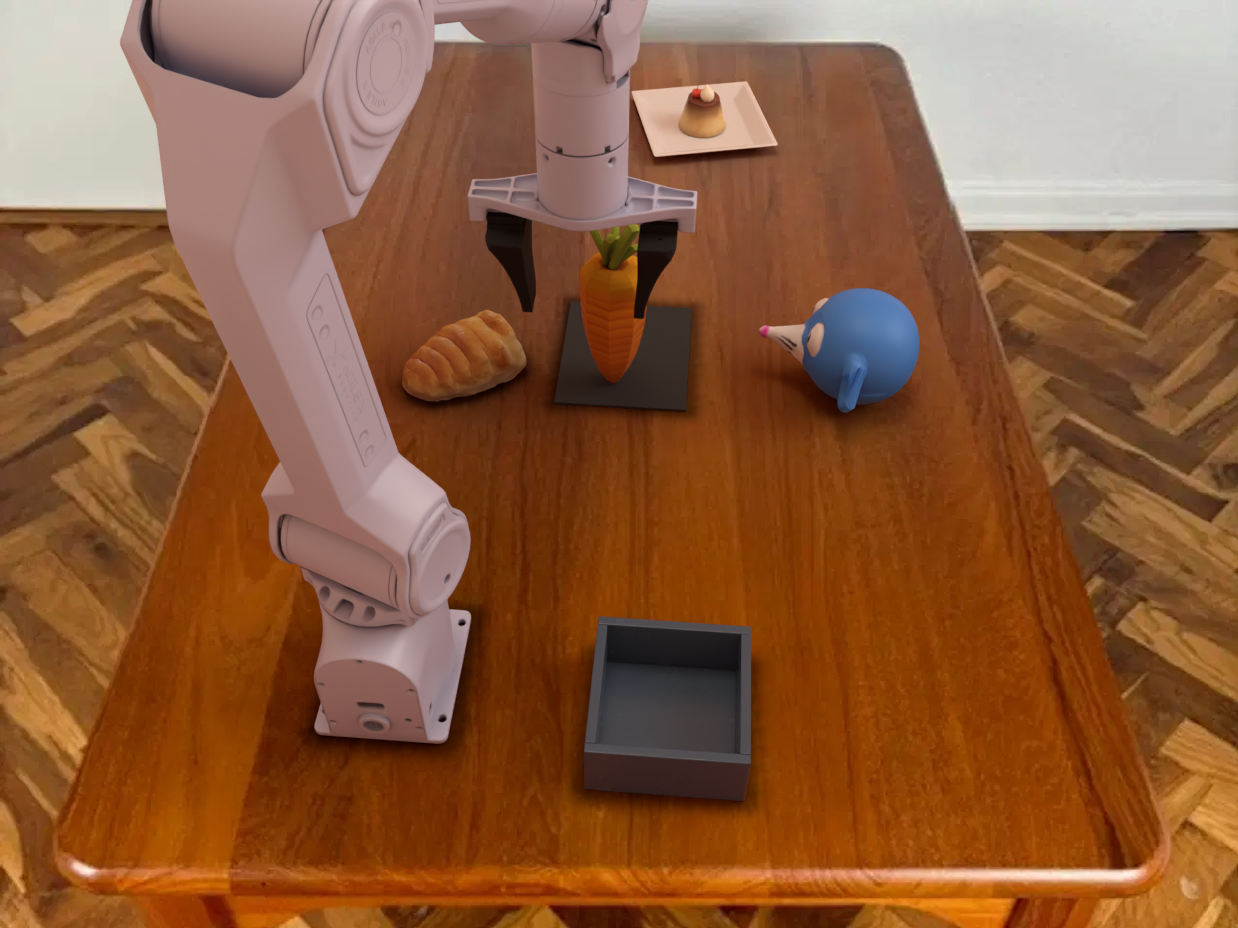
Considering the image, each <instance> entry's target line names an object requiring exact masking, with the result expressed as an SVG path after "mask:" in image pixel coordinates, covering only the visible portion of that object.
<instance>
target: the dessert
mask: <svg viewBox="0 0 1238 928" xmlns="http://www.w3.org/2000/svg"><path fill="white" fill-rule="evenodd" d="M631 95H632V98H633V101H634V103H635V106H636V109H637V112H638V114H639V118H640V120H641V123H642V126H643V129H644V132H645V135H646V137H647V140H648V143H649V146H650V149H651V152H652V155H653V157H655V158H661V157H664V158H665V157H676V156H677V157H678V156H687V155H697V154H708V153H709V154H710V153H720V152H729V151H730V152H731V151H740V150H741V151H742V150H750V149H751V150H752V149H761V148H771V147H776V146H778V144H779V143H778V141H777V139H776V137H775V135H774V134H773V131H772V129H771V128H770V126H769V123H768V121H767V119H766V118H765V115H764V113H763V111H762V109H761V107H760V105H759V103H758V100H757V99H756V97H755V95H754V92H753V90H752V89H751V86H750V84H749V83H748V81H747V80H745V81H744V80H743V81H734V82H723V83H722V82H721V83H713V84H712V83H710V84H708V83H706V84H700V83H699V84H697V85H686V86H674V87H663V88H651V89H650V88H649V89H639V90H631Z"/></svg>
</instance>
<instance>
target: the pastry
mask: <svg viewBox="0 0 1238 928" xmlns="http://www.w3.org/2000/svg"><path fill="white" fill-rule="evenodd" d="M526 366H527V356H526V353H525V351H524V349H523V346H522V344H521V343H520V341H519V340H518V338H517V336H516V333H515V331H514V329H513V327H512V326H511V325H510V324H509V322H508V321H507V320H506V319H505V318H504V317H503V315H501V314H500V313H497V312H494V311H492V310H489V309H483V311H479V312H477V314H475V315H473V316H470V317H466V318H462V319H459V320H457V321H455V322H454V323H449V324H446V325H444V326H443V327H441V328H440V329H439V330H438V331H437V332H436V333H435V334H434V335H432V336H431V337H430V338H429V339H428V340H427V341H426V342H425V343H424V344H423V345H421V346H420V347H419V348H418V349H417V350H416V351H415V352H414V353H413V354H411V356H410V358H409V359H408V360H407V361H406V362H405V363H404V364H403V367H402V379H401V385H402V388H403V389H404V390H405V392H406V393H408V394H409V395H410V396H413V397H415V398H418V399H420V400H423V401H427V402H436V403H438V402H440V401H450V400H451V399H453V398H461V397H462V398H467V397H470V396H474V395H476V394H477V393H483V392H485V391H488V390H489V389H492V388H495V387H496V386H497V385H499V384H502V383H507V382H509V381H512V380H513V379H514V378H516V377H517V375H518V374H520V373H521V372H522V370H523V369H524V368H525V367H526Z"/></svg>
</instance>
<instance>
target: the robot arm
mask: <svg viewBox="0 0 1238 928" xmlns="http://www.w3.org/2000/svg"><path fill="white" fill-rule="evenodd" d="M648 3H649V0H131V2H130V6H129V10H128V13H127V16H126V19H125V23H124V26H123V30H122V33H121V36H120V39H119V46H120V49H121V51H122V53H123V55H124V57H125V59H126V62H127V64H128V67H129V68H130V70H131V73H132V75H133V77H134V80H135V82H136V84H137V86H138V88H139V90H140V92H141V94H142V97H143V99H144V101H145V103H146V106H147V108H148V110H149V112H150V115H151V116H152V117H151V118H152V119H153V121H154V123H155V126H156V136H157V143H158V145H157V146H158V152H159V161H160V168H161V176H162V183H163V194H164V200H165V201H164V202H165V209H166V217H167V218H166V219H167V223H168V228H169V231H170V235H171V237H172V240H173V243H174V246H175V247H176V248H175V249H176V250H177V252H178V254H179V256H180V259H181V260H182V262H183V264H184V266H185V268H186V270H187V273H188V275H189V276H190V279H191V281H192V284H193V285H194V287H195V289H196V291H197V293H198V294H199V297H200V300H201V301H202V303H203V306H204V307H205V310H206V311H207V314H208V316H209V318H210V320H211V322H212V324H213V326H214V328H215V330H216V332H217V334H218V336H219V338H220V341H221V343H222V345H223V347H224V349H225V351H226V353H227V356H228V357H229V359H230V361H231V363H232V365H233V368H234V370H235V371H236V373H237V375H238V378H239V380H240V382H241V384H242V386H243V388H244V390H245V392H246V394H247V397H248V399H249V401H250V402H251V404H252V407H253V409H254V411H255V413H256V415H257V417H258V419H259V421H260V424H261V425H262V427H263V429H264V432H265V433H266V436H267V437H268V439H269V441H270V444H271V446H272V448H273V450H274V452H275V453H276V456H277V458H278V460H279V463H277V465H276V466H275V468H274V469H273V471H272V473H271V474H270V476H269V477H268V480H267V482H266V484H265V486H264V488H263V489H262V492H261V494H260V497H261V499H262V501H263V503H264V504H265V507H266V510H267V514H268V541H269V546H270V549H271V551H272V553H273V555H274V556H275V557H276V558H277V559H278V560H280V561H282V562H284V563H286V564H288V565H297V566H299V568H300V571H301V575H302V579H303V581H306V582H307V583H308V584H310V585H311V586H312V587H313V588H314V591H315V594H316V596H317V600H318V604H319V609H320V613H321V619H322V620H321V622H322V635H321V643H320V648H319V653H318V657H317V660H316V664H315V667H314V671H313V682H314V683H313V684H314V686H315V689H316V692H317V695H318V698H319V701H320V705H319V706H318V707H319V708H318V711H317V715H316V717H315V721H314V725H313V726H314V727H313V728H314V731H315V733H316V734H317V735H319V736H329V737H330V736H331V737H340V738H342V737H343V738H356V739H366V740H367V739H368V740H369V739H371V740H383V741H395V742H396V741H397V742H407V743H408V742H409V743H410V742H411V743H422V744H423V743H424V744H434V745H435V744H436V745H437V744H438V745H439V744H443V743H445V742H446V741H447V740H448V738H449V734H450V729H451V724H452V719H453V715H454V714H453V713H454V709H455V704H456V698H457V694H458V689H459V684H460V678H461V673H462V669H463V664H464V658H465V653H466V648H467V643H468V639H469V638H468V637H469V632H470V630H471V629H470V628H471V624H472V615H471V612H470V611H468V610H465V609H453V608H452V609H451V608H450V607H449V606H450V605H449V598H450V597H451V595H452V594H453V593H454V591H455V590H456V588H457V586H458V585H459V582H460V580H461V579H462V576H463V574H464V571H465V569H466V566H467V563H468V560H469V556H470V550H471V541H472V540H471V531H470V528H469V522H468V519H467V517H466V515H465V513H464V512H463V511H462V510H460V509H458V508H455V507H453V506H452V505H451V503H450V502H449V498H448V496H447V492H446V491H445V490H444V489H443V488H442V487H441V486H440V485H438V484H437V483H436V482H435V481H434V480H433V479H431V478H430V477H429V475H426V474H425V473H424V472H423V471H422V470H420V469H419V468H417V467H416V466H415V465H414V464H413V463H411V462H410V461H409V460H408V459H407V458H405V456H403V455H402V454H401V453H400V452H399V450H398V447H397V444H396V441H395V439H394V436H393V432H392V430H391V427H390V424H389V421H388V417H387V414H386V413H385V410H384V406H383V404H382V400H381V398H380V395H379V392H378V389H377V386H376V383H375V381H374V380H375V379H374V377H373V374H372V372H371V369H370V366H369V362H368V360H367V357H366V354H365V351H364V349H363V346H362V343H361V339H360V336H359V334H358V331H357V328H356V325H355V323H354V318H353V317H352V313H351V311H350V308H349V304H348V302H347V299H346V296H345V293H344V289H343V288H342V284H341V282H340V279H339V276H338V273H337V270H336V267H335V264H334V261H333V259H332V255H331V253H330V250H329V247H328V245H327V241H326V238H325V236H324V232H323V230H324V229H327V228H331V227H333V226H336V225H339V224H342V223H345V222H348V221H351V220H353V219H355V218H356V217H357V216H358V214H359V212H360V210H361V208H362V206H363V205H364V203H365V201H366V199H367V196H368V195H369V192H370V191H371V189H372V187H373V185H374V184H375V181H376V179H377V178H378V176H379V173H380V172H381V170H382V168H383V166H384V164H385V162H386V160H387V158H388V156H389V154H390V153H391V150H392V148H393V147H394V144H395V143H396V140H397V139H398V136H399V135H400V133H401V131H402V129H403V126H405V123H406V121H407V119H408V117H409V115H410V114H411V112H412V111H413V109H414V107H415V106H416V103H417V102H418V99H419V97H420V94H421V91H422V88H423V85H424V82H425V78H426V75H428V73H429V72H430V71H431V70H432V66H433V62H434V61H433V60H434V52H435V40H436V39H435V37H436V36H435V35H436V30H435V29H436V28H435V27H436V26H437V25H445V24H454V23H460V24H461V26H463V28H464V29H465V30H466V31H467V32H468V33H469V34H471V35H472V36H473V37H475V38H477V39H478V40H480V41H482V42H484V43H487V44H490V45H497V46H499V45H518V44H519V45H522V44H523V45H524V44H530V51H531V55H530V56H531V73H532V92H533V93H532V94H533V95H532V96H533V116H534V137H535V138H534V139H535V156H536V157H535V159H536V172H534V173H529V174H527V173H526V174H521V175H520V174H519V175H514V176H506V177H498V178H484V179H483V178H473V179H471V182H470V186H469V190H468V193H467V204H468V205H467V206H468V214H469V215H468V216H469V221H470V222H483V223H484V222H486V231H485V235H484V241H485V244H486V248H487V250H488V251H489V252H490V253H491V254H492V255H493V256H494V258H495V259H496V260H497V261H498V262H499V264H500V265H501V266H502V268H503V270H504V271H505V273H506V274H507V276H508V278H509V280H510V281H511V284H512V285H513V288H514V290H515V292H516V294H517V298H518V301H519V303H520V306H521V311H522V312H523V313H533V311H534V306H535V301H536V296H537V278H536V270H535V269H536V268H535V261H534V254H533V252H534V251H533V221H534V222H536V223H539V224H540V223H541V224H544V225H548V226H552V227H554V228H558V229H562V230H565V231H566V230H567V231H571V232H589V231H595V230H599V231H600V230H607V229H611V228H614V227H620V226H621V227H626V226H627V225H633V224H637V225H639V230H640V231H639V233H638V239H637V245H638V248H637V252H636V257H637V286H636V295H635V305H634V319H643V318H644V316H645V309H646V305H647V306H648V302H649V299H650V296H651V294H652V292H653V289H654V287H655V285H656V283H657V282H658V280H659V278H660V276H661V275H662V273H663V272H664V270H665V269H666V268H667V266H669V264H670V263H671V262H672V260H673V258H674V256H675V254H676V252H677V246H678V232H679V233H685V234H695V232H696V220H697V219H696V218H697V207H698V191H697V190H690V189H681V188H675V187H670V186H667V185H663V184H659V183H655V182H651V181H647V180H643V179H640V178H636V177H633V176H629V142H630V139H629V137H630V133H629V132H630V94H631V93H630V91H631V89H630V88H631V86H630V85H631V84H630V83H631V68H632V67H633V66H634V65H635V64H636V63H637V61H638V56H639V52H640V51H641V50H640V48H641V31H642V25H643V21H644V17H645V16H646V11H647V8H648ZM621 227H620V228H621ZM460 624H464V625H460ZM441 719H445V720H444V721H442V722H441V721H440V720H441Z"/></svg>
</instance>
